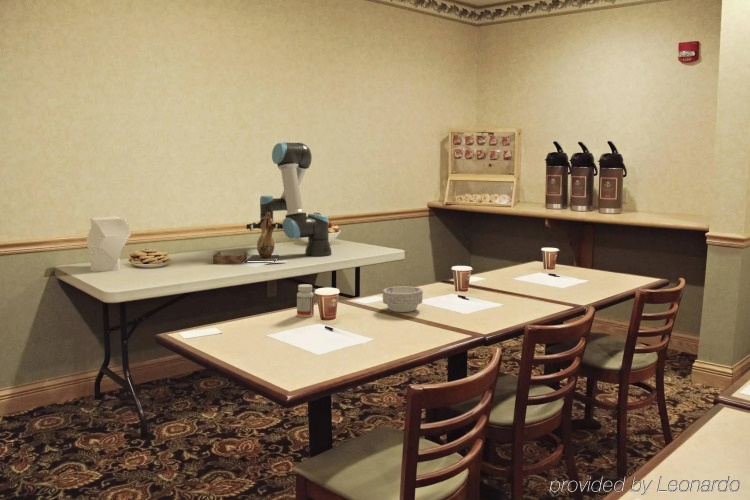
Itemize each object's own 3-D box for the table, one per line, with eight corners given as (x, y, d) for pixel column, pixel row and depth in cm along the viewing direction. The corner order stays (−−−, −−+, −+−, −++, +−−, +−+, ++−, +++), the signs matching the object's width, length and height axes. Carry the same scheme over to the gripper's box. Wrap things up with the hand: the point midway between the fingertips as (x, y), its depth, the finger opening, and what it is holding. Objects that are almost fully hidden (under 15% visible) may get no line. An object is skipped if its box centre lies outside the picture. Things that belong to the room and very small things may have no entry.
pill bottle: (306, 312, 254) (305, 283, 252) (317, 315, 249) (317, 285, 248) (293, 315, 249) (293, 285, 247) (304, 318, 245) (304, 287, 243)
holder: (247, 259, 370) (246, 251, 369) (242, 263, 357) (242, 255, 357) (218, 259, 370) (218, 251, 369) (213, 263, 357) (212, 255, 357)
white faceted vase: (87, 273, 328) (84, 220, 324) (87, 264, 352) (84, 215, 349) (133, 270, 336) (130, 219, 332) (130, 262, 361) (127, 214, 357)
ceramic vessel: (277, 259, 365) (281, 213, 362) (261, 259, 361) (265, 212, 358) (267, 255, 379) (271, 210, 376) (252, 254, 375) (255, 209, 372)
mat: (279, 257, 380) (279, 254, 380) (274, 262, 362) (274, 260, 362) (252, 256, 380) (252, 254, 380) (246, 262, 362) (246, 260, 362)
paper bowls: (381, 305, 266) (381, 285, 265) (419, 305, 267) (420, 285, 266) (383, 314, 251) (384, 293, 250) (424, 314, 252) (425, 293, 251)
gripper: (287, 230, 398) (286, 234, 378) (244, 230, 396) (241, 235, 375) (287, 217, 397) (286, 221, 376) (244, 217, 395) (240, 221, 374)
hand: (263, 228), depth 376 cm, fingers open, 13 cm apart
